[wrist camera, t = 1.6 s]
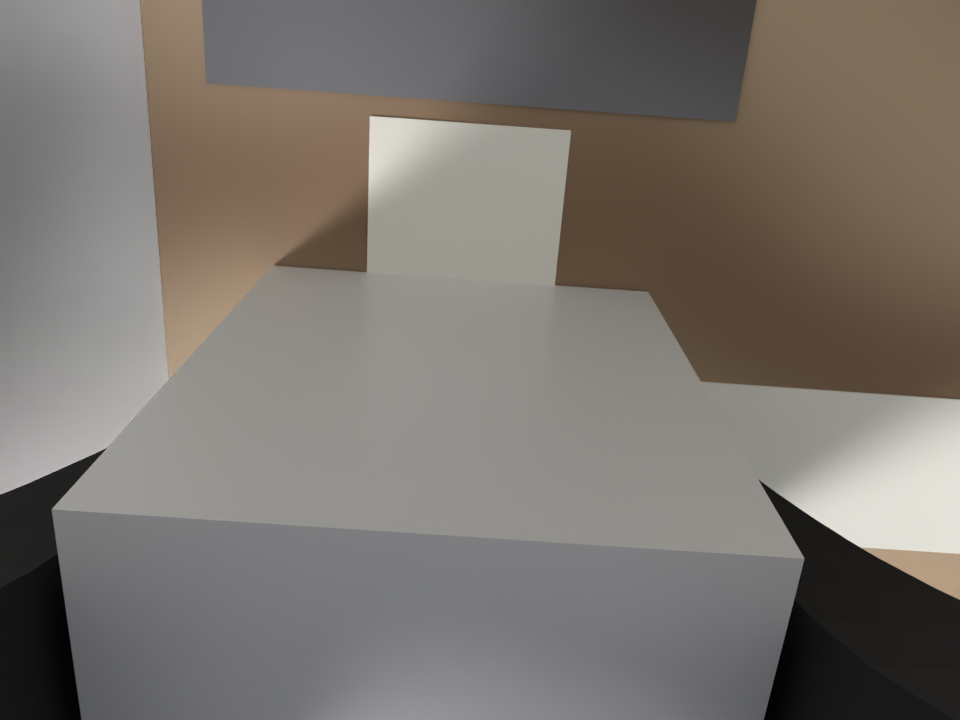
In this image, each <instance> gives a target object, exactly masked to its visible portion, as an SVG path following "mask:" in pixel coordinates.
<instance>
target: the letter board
mask: <svg viewBox="0 0 960 720" xmlns="http://www.w3.org/2000/svg"><path fill="white" fill-rule="evenodd" d="M140 7H141V20H142V33H143V46H144V59H145V72H146V86H147V99H148V112H149V125H150V138H151V151H152V164H153V178H154V191H155V204H156V217H157V230H158V243H159V256H160V270H161V283H162V296H163V309H164V322H165V335H166V348H167V362H168V375H169V379H170V378H171V377H172V376H173V375H174V374H175V373H176V371H177V370H178V369H179V368H180V367H181V366H182V365H183V364H184V363H185V362H186V360H187V359H188V358H189V357H190V356H191V355H192V354H193V353H194V352H195V351H196V349H197V348H198V347H199V346H200V345H201V344H202V343H203V342H204V341H205V339H206V338H207V337H208V336H209V335H210V334H211V333H212V332H213V331H214V330H215V328H216V327H217V326H218V325H219V324H220V323H221V322H222V321H223V320H224V318H225V317H226V316H227V315H228V314H229V313H230V312H231V311H232V310H233V309H234V307H235V306H236V305H237V304H238V303H239V302H240V301H241V300H242V299H243V297H244V296H245V295H246V294H247V293H248V292H249V291H250V290H251V289H252V288H253V286H254V285H255V284H256V283H257V282H258V281H259V280H260V279H261V278H262V277H263V275H264V274H265V273H266V272H267V271H268V270H269V269H270V268H271V267H272V266H286V267H300V268H314V269H329V270H343V271H357V272H367V236H368V183H369V130H370V116H379V117H393V118H406V119H420V120H434V121H448V122H462V123H476V124H489V125H503V126H517V127H531V128H545V129H559V130H571V137H570V147H569V156H568V165H567V175H566V184H565V194H564V203H563V213H562V222H561V231H560V241H559V250H558V260H557V269H556V279H555V285H558V286H573V287H587V288H601V289H616V290H630V291H644V292H649V294H650V295H651V297H652V299H653V301H654V302H655V304H656V306H657V307H658V309H659V311H660V313H661V314H662V316H663V318H664V319H665V321H666V323H667V325H668V326H669V328H670V330H671V331H672V333H673V335H674V336H675V338H676V340H677V342H678V343H679V345H680V347H681V348H682V350H683V352H684V354H685V355H686V357H687V359H688V360H689V362H690V364H691V366H692V367H693V369H694V371H695V372H696V374H697V376H698V377H699V379H700V381H701V382H714V383H729V384H744V385H758V386H773V387H788V388H802V389H817V390H832V391H846V392H861V393H876V394H890V395H905V396H919V397H934V398H949V399H960V0H140ZM860 548H862V547H860ZM862 549H864V550H865V551H867V552H869V553H871V554H872V555H874V556H876V557H878V558H879V559H881V560H883V561H885V562H887V563H889V564H890V565H892V566H894V567H896V568H898V569H900V570H902V571H904V572H906V573H907V574H909V575H911V576H913V577H915V578H917V579H919V580H921V581H923V582H924V583H926V584H928V585H930V586H932V587H934V588H936V589H938V590H940V591H942V592H944V593H946V594H949V595H951V596H953V597H955V598H957V599H959V600H960V554H954V553H939V552H923V551H908V550H893V549H878V548H862Z"/></svg>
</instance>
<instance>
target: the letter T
mask: <svg viewBox="0 0 960 720" xmlns="http://www.w3.org/2000/svg"><path fill="white" fill-rule="evenodd" d="M570 137H571V130H559V129H545V128H531V127H517V126H503V125H489V124H476V123H462V122H448V121H434V120H420V119H406V118H393V117H379V116H370V130H369V183H368V236H367V272H372V273H386V274H400V275H415V276H429V277H443V278H458V279H472V280H486V281H501V282H515V283H530V284H544V285H555V279H556V269H557V260H558V250H559V241H560V231H561V222H562V213H563V203H564V194H565V184H566V175H567V165H568V156H569V147H570ZM701 383H702V384H703V386H704V388H705V389H706V391H707V393H708V395H709V396H710V398H711V400H712V401H713V403H714V405H715V406H716V408H717V410H718V412H719V413H720V415H721V417H722V418H723V420H724V422H725V424H726V425H727V427H728V429H729V430H730V432H731V434H732V436H733V437H734V439H735V441H736V442H737V444H738V446H739V447H740V449H741V451H742V453H743V454H744V456H745V458H746V459H747V461H748V463H749V465H750V466H751V468H752V470H753V471H754V473H755V475H756V477H757V478H758V480H760V481H761V482H762V483H764V484H765V485H767V486H768V487H769V488H771V489H772V490H774V491H775V492H776V493H778V494H779V495H781V496H782V497H783V498H785V499H786V500H788V501H789V502H791V503H792V504H793V505H795V506H796V507H798V508H799V509H801V510H802V511H804V512H805V513H807V514H808V515H810V516H811V517H813V518H814V519H816V520H817V521H819V522H820V523H822V524H824V525H825V526H827V527H828V528H830V529H831V530H833V531H835V532H836V533H838V534H839V535H841V536H842V537H844V538H846V539H847V540H849V541H850V542H852V543H854V544H855V545H857V546H859V547H862V548H878V549H893V550H908V551H923V552H939V553H954V554H960V399H949V398H934V397H919V396H905V395H890V394H876V393H861V392H846V391H832V390H817V389H802V388H788V387H773V386H758V385H744V384H729V383H714V382H701Z"/></svg>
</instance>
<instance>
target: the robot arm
mask: <svg viewBox="0 0 960 720" xmlns="http://www.w3.org/2000/svg"><path fill="white" fill-rule="evenodd" d="M106 449H107V448H106ZM106 449H104V450H102V451H100V452H98V453H96V454H94V455H91V456H89V457H87V458H85V459H82V460H80V461H78V462H76V463H73V464H71V465H69V466H67V467H64V468H62V469H60V470H58V471H56V472H53V473H51V474H49V475H47V476H44V477H42V478H40V479H38V480H35V481H33V482H31V483H29V484H26V485H24V486H21V487H19V488H16V489H14V490H11V491H9V492H6V493H4V494H1V495H0V720H81V713H80V706H79V699H78V692H77V685H76V678H75V671H74V664H73V657H72V650H71V643H70V636H69V629H68V622H67V615H66V608H65V601H64V594H63V586H62V579H61V572H60V565H59V558H58V551H57V544H56V537H55V530H54V523H53V516H52V508H53V507H54V506H55V505H56V504H57V503H58V502H59V501H60V500H61V498H62V497H63V496H64V495H65V494H66V493H67V492H68V491H69V490H70V489H71V487H72V486H73V485H74V484H75V483H76V482H77V481H78V480H79V479H80V477H81V476H82V475H83V474H84V473H85V472H86V471H87V470H88V469H89V468H90V466H91V465H92V464H93V463H94V462H95V461H96V460H97V459H98V458H99V457H100V455H101V454H102V453H103V452H104V451H105V450H106ZM759 482H760V483H761V485H762V487H763V488H764V490H765V492H766V494H767V495H768V497H769V499H770V500H771V502H772V504H773V506H774V507H775V509H776V511H777V512H778V514H779V516H780V518H781V519H782V521H783V523H784V524H785V526H786V528H787V529H788V531H789V533H790V535H791V536H792V538H793V540H794V541H795V543H796V545H797V547H798V548H799V550H800V552H801V553H802V555H803V557H804V563H803V567H802V571H801V575H800V579H799V583H798V587H797V591H796V595H795V599H794V603H793V606H792V610H791V614H790V618H789V622H788V626H787V630H786V634H785V638H784V642H783V646H782V650H781V654H780V658H779V662H778V666H777V669H776V673H775V677H774V681H773V685H772V689H771V693H770V697H769V701H768V705H767V709H766V713H765V717H764V720H960V600H959V599H957V598H955V597H953V596H951V595H949V594H946V593H944V592H942V591H940V590H938V589H936V588H934V587H932V586H930V585H928V584H926V583H924V582H923V581H921V580H919V579H917V578H915V577H913V576H911V575H909V574H907V573H906V572H904V571H902V570H900V569H898V568H896V567H894V566H892V565H890V564H889V563H887V562H885V561H883V560H881V559H879V558H878V557H876V556H874V555H872V554H871V553H869V552H867V551H865V550H864V549H862V548H860V547H859V546H857V545H855V544H854V543H852V542H850V541H849V540H847V539H846V538H844V537H842V536H841V535H839V534H838V533H836V532H835V531H833V530H831V529H830V528H828V527H827V526H825V525H824V524H822V523H820V522H819V521H817V520H816V519H814V518H813V517H811V516H810V515H808V514H807V513H805V512H804V511H802V510H801V509H799V508H798V507H796V506H795V505H793V504H792V503H791V502H789V501H788V500H786V499H785V498H783V497H782V496H781V495H779V494H778V493H776V492H775V491H774V490H772V489H771V488H769V487H768V486H767V485H765V484H764V483H762V482H761V481H760V480H759Z"/></svg>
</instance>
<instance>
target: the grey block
mask: <svg viewBox="0 0 960 720" xmlns="http://www.w3.org/2000/svg"><path fill="white" fill-rule="evenodd" d="M52 516H53V523H54V530H55V537H56V544H57V551H58V558H59V565H60V572H61V579H62V586H63V594H64V601H65V608H66V615H67V622H68V629H69V636H70V643H71V650H72V657H73V664H74V671H75V678H76V685H77V692H78V699H79V706H80V713H81V720H764V717H765V713H766V709H767V705H768V701H769V697H770V693H771V689H772V685H773V681H774V677H775V673H776V669H777V666H778V662H779V658H780V654H781V650H782V646H783V642H784V638H785V634H786V630H787V626H788V622H789V618H790V614H791V610H792V606H793V603H794V599H795V595H796V591H797V587H798V583H799V579H800V575H801V571H802V567H803V563H804V557H803V555H802V553H801V552H800V550H799V548H798V547H797V545H796V543H795V541H794V540H793V538H792V536H791V535H790V533H789V531H788V529H787V528H786V526H785V524H784V523H783V521H782V519H781V518H780V516H779V514H778V512H777V511H776V509H775V507H774V506H773V504H772V502H771V500H770V499H769V497H768V495H767V494H766V492H765V490H764V488H763V487H762V485H761V483H760V482H759V480H758V478H757V477H756V475H755V473H754V471H753V470H752V468H751V466H750V465H749V463H748V461H747V459H746V458H745V456H744V454H743V453H742V451H741V449H740V447H739V446H738V444H737V442H736V441H735V439H734V437H733V436H732V434H731V432H730V430H729V429H728V427H727V425H726V424H725V422H724V420H723V418H722V417H721V415H720V413H719V412H718V410H717V408H716V406H715V405H714V403H713V401H712V400H711V398H710V396H709V395H708V393H707V391H706V389H705V388H704V386H703V384H702V383H701V381H700V379H699V377H698V376H697V374H696V372H695V371H694V369H693V367H692V366H691V364H690V362H689V360H688V359H687V357H686V355H685V354H684V352H683V350H682V348H681V347H680V345H679V343H678V342H677V340H676V338H675V336H674V335H673V333H672V331H671V330H670V328H669V326H668V325H667V323H666V321H665V319H664V318H663V316H662V314H661V313H660V311H659V309H658V307H657V306H656V304H655V302H654V301H653V299H652V297H651V295H650V294H649V292H644V291H630V290H616V289H601V288H587V287H573V286H558V285H544V284H530V283H515V282H501V281H486V280H472V279H458V278H443V277H429V276H415V275H400V274H386V273H372V272H357V271H343V270H329V269H314V268H300V267H286V266H272V267H271V268H270V269H269V270H268V271H267V272H266V273H265V274H264V275H263V277H262V278H261V279H260V280H259V281H258V282H257V283H256V284H255V285H254V286H253V288H252V289H251V290H250V291H249V292H248V293H247V294H246V295H245V296H244V297H243V299H242V300H241V301H240V302H239V303H238V304H237V305H236V306H235V307H234V309H233V310H232V311H231V312H230V313H229V314H228V315H227V316H226V317H225V318H224V320H223V321H222V322H221V323H220V324H219V325H218V326H217V327H216V328H215V330H214V331H213V332H212V333H211V334H210V335H209V336H208V337H207V338H206V339H205V341H204V342H203V343H202V344H201V345H200V346H199V347H198V348H197V349H196V351H195V352H194V353H193V354H192V355H191V356H190V357H189V358H188V359H187V360H186V362H185V363H184V364H183V365H182V366H181V367H180V368H179V369H178V370H177V371H176V373H175V374H174V375H173V376H172V377H171V378H170V379H169V380H168V381H167V383H166V384H165V385H164V386H163V387H162V388H161V389H160V390H159V391H158V392H157V394H156V395H155V396H154V397H153V398H152V399H151V400H150V401H149V402H148V404H147V405H146V406H145V407H144V408H143V409H142V410H141V411H140V412H139V413H138V415H137V416H136V417H135V418H134V419H133V420H132V421H131V422H130V423H129V424H128V426H127V427H126V428H125V429H124V430H123V431H122V432H121V433H120V434H119V436H118V437H117V438H116V439H115V440H114V441H113V442H112V443H111V444H110V445H109V447H108V448H107V449H106V450H105V451H104V452H103V453H102V454H101V455H100V457H99V458H98V459H97V460H96V461H95V462H94V463H93V464H92V465H91V466H90V468H89V469H88V470H87V471H86V472H85V473H84V474H83V475H82V476H81V477H80V479H79V480H78V481H77V482H76V483H75V484H74V485H73V486H72V487H71V489H70V490H69V491H68V492H67V493H66V494H65V495H64V496H63V497H62V498H61V500H60V501H59V502H58V503H57V504H56V505H55V506H54V507H53V508H52Z"/></svg>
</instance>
